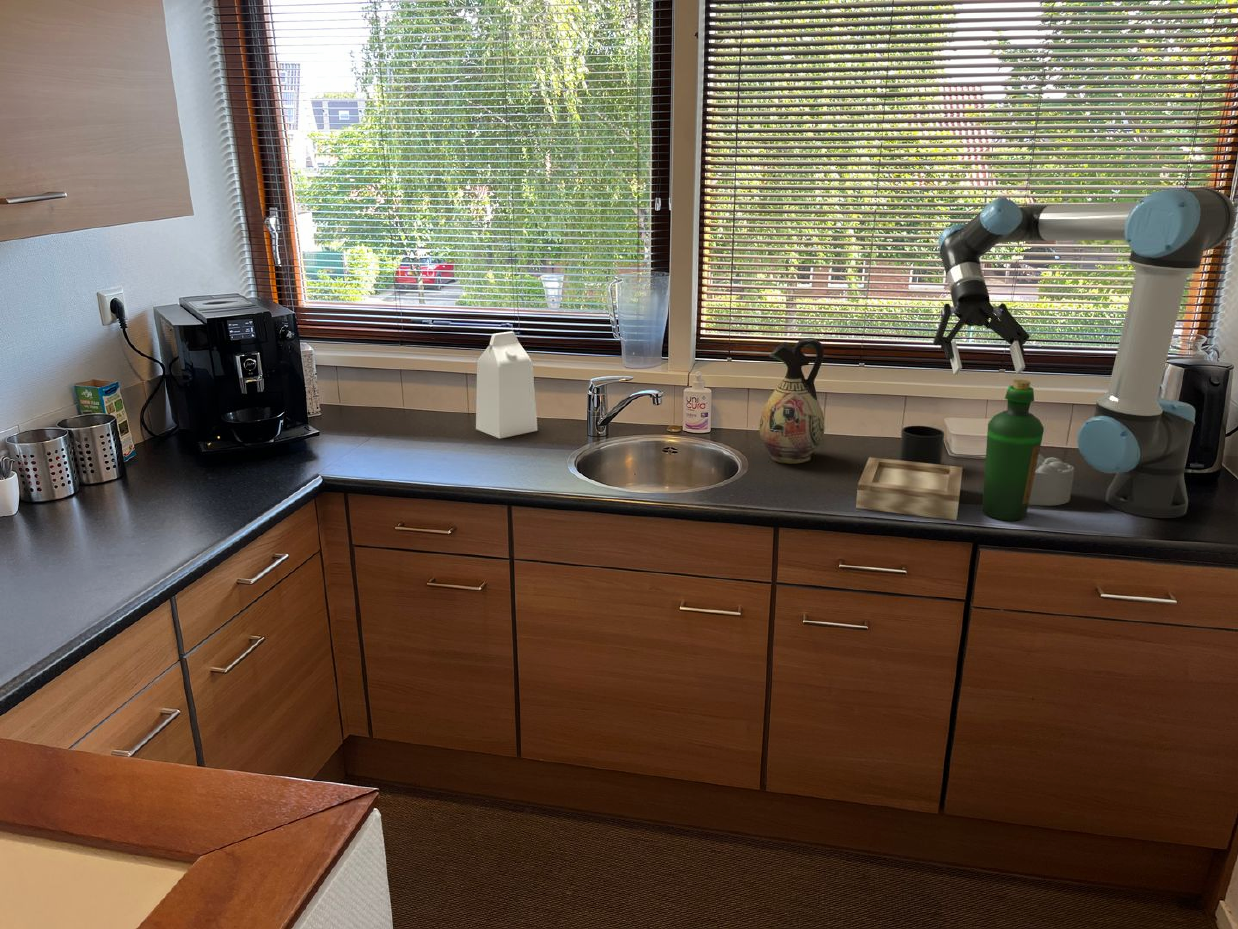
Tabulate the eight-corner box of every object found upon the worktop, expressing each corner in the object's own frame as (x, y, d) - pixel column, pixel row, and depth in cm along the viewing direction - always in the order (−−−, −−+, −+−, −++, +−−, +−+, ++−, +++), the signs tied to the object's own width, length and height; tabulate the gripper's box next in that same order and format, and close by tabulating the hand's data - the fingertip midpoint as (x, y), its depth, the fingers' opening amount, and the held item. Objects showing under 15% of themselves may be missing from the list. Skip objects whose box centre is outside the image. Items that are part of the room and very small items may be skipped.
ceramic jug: (754, 466, 228) (760, 340, 219) (761, 447, 242) (767, 329, 233) (827, 471, 224) (837, 344, 215) (830, 452, 239) (839, 332, 229)
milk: (513, 421, 265) (510, 327, 257) (537, 430, 257) (535, 333, 249) (476, 429, 258) (471, 332, 250) (499, 438, 249) (495, 339, 241)
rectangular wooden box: (959, 489, 213) (962, 467, 211) (956, 520, 195) (959, 496, 193) (867, 478, 219) (869, 457, 218) (855, 507, 202) (857, 484, 200)
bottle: (1043, 519, 195) (1063, 385, 187) (1002, 527, 192) (1020, 389, 183) (1005, 502, 205) (1022, 373, 196) (965, 509, 201) (981, 377, 192)
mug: (929, 458, 234) (932, 422, 232) (945, 474, 223) (950, 436, 220) (890, 458, 234) (893, 422, 231) (905, 474, 223) (909, 436, 220)
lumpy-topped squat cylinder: (999, 488, 214) (1004, 451, 211) (1060, 490, 213) (1066, 452, 210) (1014, 504, 204) (1019, 465, 201) (1077, 506, 203) (1083, 467, 200)
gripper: (1015, 298, 216) (1038, 379, 206) (907, 299, 214) (925, 380, 205) (1030, 277, 209) (1054, 360, 200) (918, 278, 207) (937, 361, 198)
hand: (989, 370), depth 202 cm, fingers open, 13 cm apart
